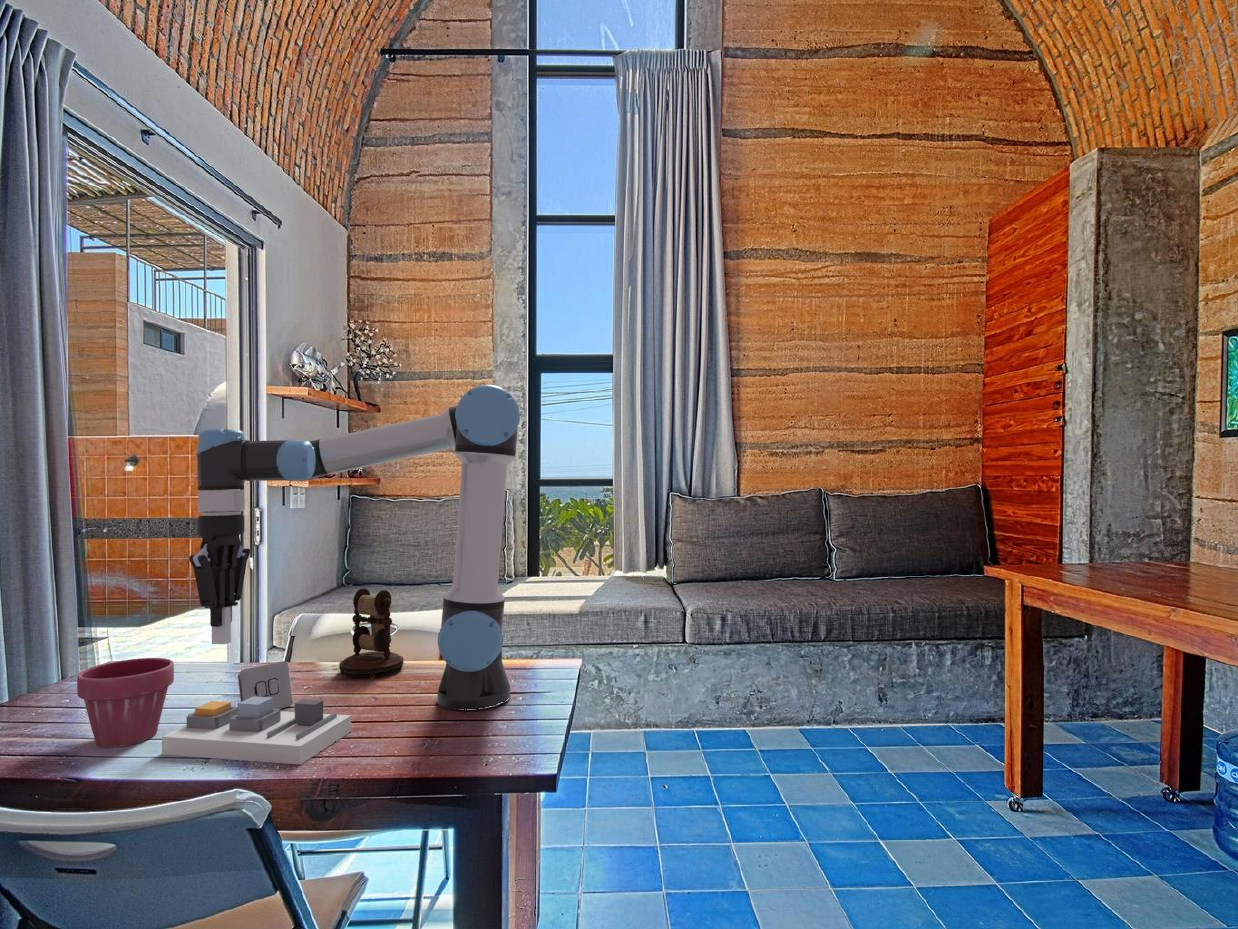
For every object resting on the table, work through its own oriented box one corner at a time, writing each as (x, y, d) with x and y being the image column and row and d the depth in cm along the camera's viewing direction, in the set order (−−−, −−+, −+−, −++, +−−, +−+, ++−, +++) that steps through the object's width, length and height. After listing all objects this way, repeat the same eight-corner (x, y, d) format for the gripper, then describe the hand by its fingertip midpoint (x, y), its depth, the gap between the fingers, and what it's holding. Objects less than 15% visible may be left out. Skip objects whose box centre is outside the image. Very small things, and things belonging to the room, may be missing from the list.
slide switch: (323, 720, 125) (323, 700, 125) (315, 725, 123) (315, 704, 123) (303, 719, 126) (303, 699, 126) (294, 723, 123) (294, 703, 123)
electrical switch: (246, 719, 136) (244, 670, 136) (234, 716, 139) (233, 669, 140) (293, 707, 143) (291, 661, 144) (281, 704, 146) (280, 659, 147)
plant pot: (64, 759, 116) (65, 682, 117) (89, 731, 129) (90, 662, 129) (165, 746, 122) (165, 672, 122) (179, 720, 135) (180, 654, 135)
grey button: (273, 712, 125) (273, 697, 125) (257, 719, 121) (258, 704, 121) (253, 710, 126) (253, 696, 126) (237, 718, 122) (237, 703, 122)
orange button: (231, 716, 127) (231, 702, 127) (214, 724, 123) (214, 709, 123) (211, 715, 127) (211, 701, 127) (194, 723, 123) (194, 708, 123)
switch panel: (351, 731, 128) (351, 704, 128) (300, 764, 114) (300, 733, 114) (226, 724, 133) (226, 697, 133) (161, 754, 118) (162, 724, 118)
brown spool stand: (416, 667, 173) (416, 586, 173) (372, 683, 160) (373, 595, 160) (370, 661, 179) (371, 583, 180) (325, 676, 166) (326, 591, 166)
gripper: (228, 512, 134) (228, 634, 134) (175, 515, 121) (175, 651, 121) (263, 512, 133) (263, 635, 133) (213, 515, 120) (213, 652, 120)
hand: (221, 643), depth 127 cm, fingers closed
